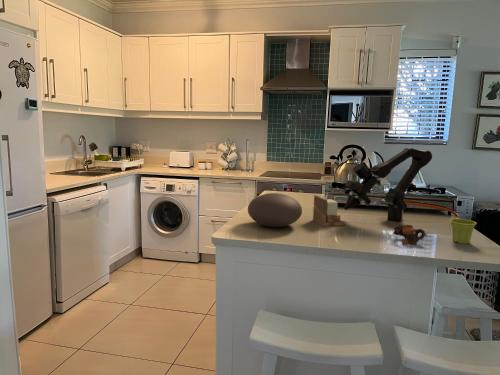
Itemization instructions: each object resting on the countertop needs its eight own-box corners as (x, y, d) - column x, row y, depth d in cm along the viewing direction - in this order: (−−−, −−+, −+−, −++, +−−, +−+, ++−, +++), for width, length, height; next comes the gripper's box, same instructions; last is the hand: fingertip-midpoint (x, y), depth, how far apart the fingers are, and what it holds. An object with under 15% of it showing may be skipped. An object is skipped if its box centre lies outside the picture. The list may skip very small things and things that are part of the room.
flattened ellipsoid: (291, 236, 158) (292, 201, 155) (238, 228, 168) (238, 195, 165) (307, 223, 180) (309, 192, 177) (259, 216, 190) (260, 187, 188)
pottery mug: (395, 245, 149) (391, 225, 152) (396, 250, 157) (392, 230, 160) (427, 241, 145) (423, 221, 148) (427, 246, 153) (423, 226, 156)
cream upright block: (330, 216, 186) (331, 199, 184) (337, 220, 179) (338, 202, 177) (320, 217, 184) (321, 199, 183) (326, 220, 178) (327, 202, 176)
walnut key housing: (332, 219, 189) (334, 194, 187) (343, 225, 177) (345, 199, 175) (312, 219, 186) (314, 195, 184) (323, 226, 175) (324, 199, 173)
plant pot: (452, 244, 151) (454, 223, 150) (444, 237, 161) (447, 218, 159) (477, 246, 150) (480, 225, 148) (468, 239, 159) (471, 219, 158)
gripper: (346, 172, 190) (326, 194, 189) (366, 177, 172) (343, 201, 172) (360, 187, 193) (339, 208, 193) (380, 193, 176) (358, 217, 175)
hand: (344, 208), depth 183 cm, fingers closed
